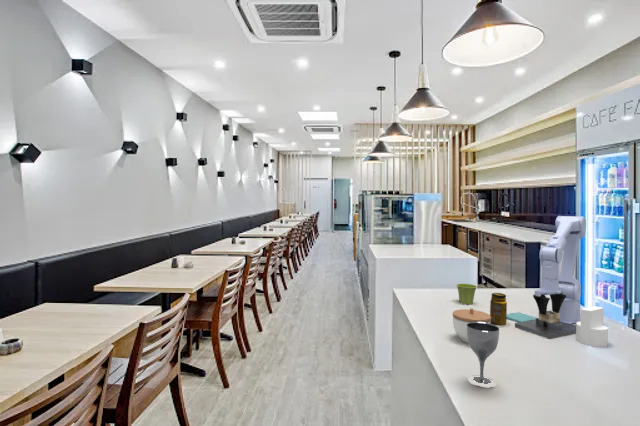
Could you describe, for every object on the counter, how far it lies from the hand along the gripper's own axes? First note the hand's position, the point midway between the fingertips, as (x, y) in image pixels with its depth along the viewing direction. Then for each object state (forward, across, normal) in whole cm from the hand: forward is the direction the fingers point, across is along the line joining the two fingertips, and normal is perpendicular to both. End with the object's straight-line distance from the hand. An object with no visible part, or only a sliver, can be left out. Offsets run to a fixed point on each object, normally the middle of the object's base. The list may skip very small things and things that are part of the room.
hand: (549, 313), depth 143 cm
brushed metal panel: (+6, 0, 0) cm, 6 cm away
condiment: (+7, -13, +13) cm, 20 cm away
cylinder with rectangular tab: (+7, +1, -15) cm, 16 cm away
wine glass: (+7, -59, -22) cm, 63 cm away
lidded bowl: (+7, -37, +3) cm, 38 cm away
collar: (+3, 0, 0) cm, 3 cm away
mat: (+6, +2, +14) cm, 15 cm away
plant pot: (+6, 0, +42) cm, 43 cm away
